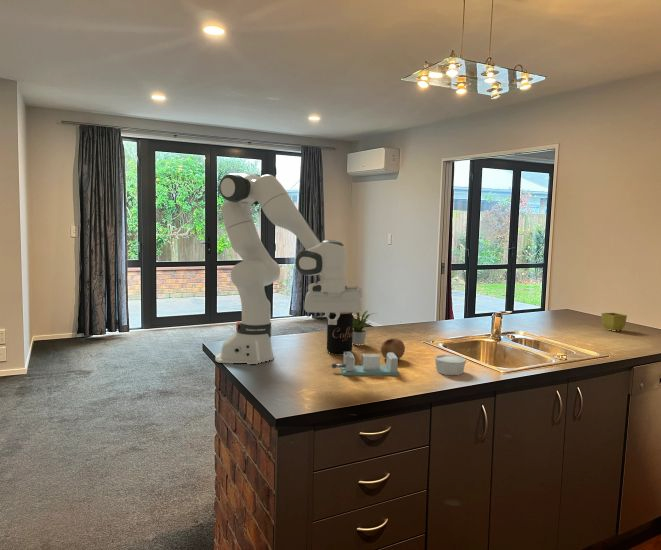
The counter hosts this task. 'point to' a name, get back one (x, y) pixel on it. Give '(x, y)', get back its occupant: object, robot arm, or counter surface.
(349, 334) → the coffee jar
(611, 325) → the flower pot
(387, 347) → the onion
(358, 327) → the house plant
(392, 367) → the vise
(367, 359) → the block
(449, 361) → the ramekin
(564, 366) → the counter surface
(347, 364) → the jaw
